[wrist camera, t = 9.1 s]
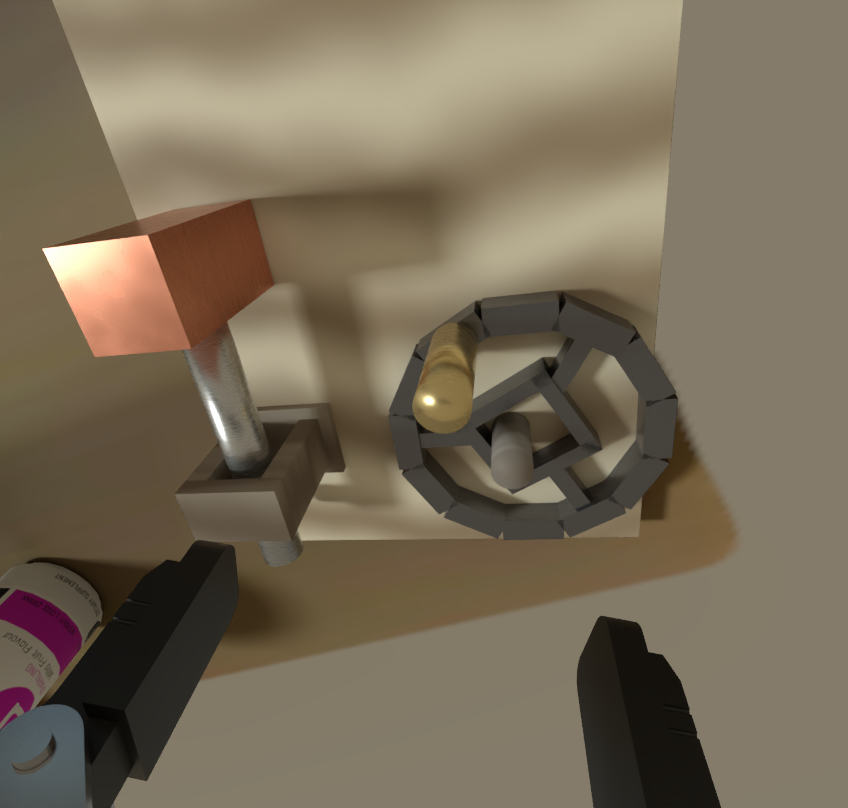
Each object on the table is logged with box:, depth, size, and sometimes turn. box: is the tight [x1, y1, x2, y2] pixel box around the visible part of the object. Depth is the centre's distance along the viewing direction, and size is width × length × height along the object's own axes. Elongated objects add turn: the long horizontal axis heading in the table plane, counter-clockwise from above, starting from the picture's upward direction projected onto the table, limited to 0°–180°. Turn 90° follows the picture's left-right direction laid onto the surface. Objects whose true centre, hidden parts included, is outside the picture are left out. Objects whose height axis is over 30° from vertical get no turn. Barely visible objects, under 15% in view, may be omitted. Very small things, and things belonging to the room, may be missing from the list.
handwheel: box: [388, 291, 678, 540], centre depth 24 cm, size 14×14×8 cm
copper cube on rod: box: [43, 199, 308, 567], centre depth 25 cm, size 18×4×8 cm, turn 8°
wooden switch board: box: [53, 0, 683, 542], centre depth 23 cm, size 30×24×8 cm
